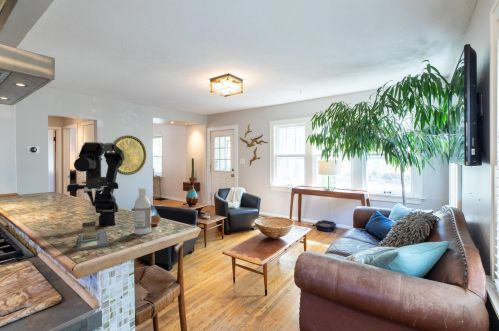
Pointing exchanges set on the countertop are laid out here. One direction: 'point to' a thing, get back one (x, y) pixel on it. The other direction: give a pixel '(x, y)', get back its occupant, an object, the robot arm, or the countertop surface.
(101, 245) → the base
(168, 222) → the countertop surface
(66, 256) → the countertop surface
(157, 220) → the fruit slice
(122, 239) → the countertop surface
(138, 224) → the bath foam
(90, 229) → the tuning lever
